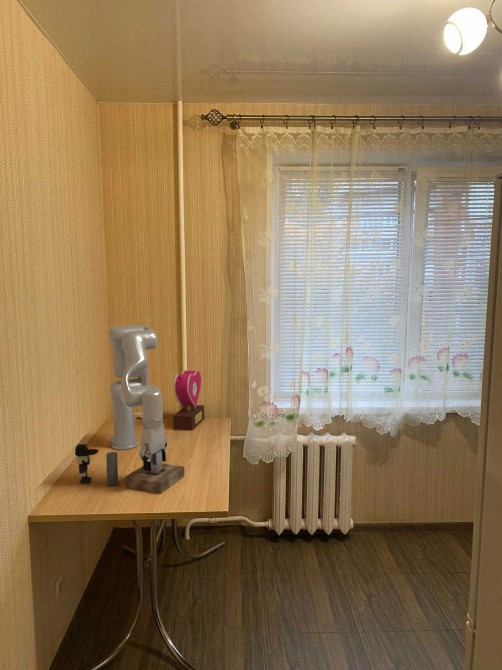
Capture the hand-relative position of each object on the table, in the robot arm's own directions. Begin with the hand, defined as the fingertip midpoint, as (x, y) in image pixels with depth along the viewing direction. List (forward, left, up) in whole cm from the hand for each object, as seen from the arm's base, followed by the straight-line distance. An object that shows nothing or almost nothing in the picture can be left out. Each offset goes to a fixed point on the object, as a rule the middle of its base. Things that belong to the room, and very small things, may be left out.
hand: (155, 465), depth 180 cm
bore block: (0, 0, -6) cm, 6 cm away
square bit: (0, 0, -6) cm, 6 cm away
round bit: (-14, -8, -6) cm, 17 cm away
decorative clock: (-25, +67, -7) cm, 72 cm away
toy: (-25, -9, -6) cm, 27 cm away
